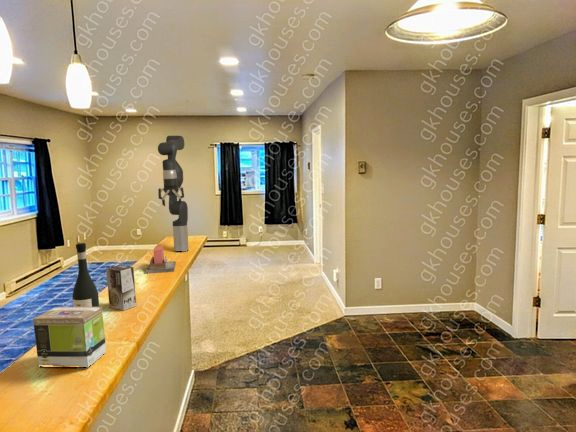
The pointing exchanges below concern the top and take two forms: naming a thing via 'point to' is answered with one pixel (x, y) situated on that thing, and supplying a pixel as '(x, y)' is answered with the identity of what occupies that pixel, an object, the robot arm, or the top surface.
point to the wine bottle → (84, 282)
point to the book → (158, 254)
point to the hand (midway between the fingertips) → (172, 205)
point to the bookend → (167, 263)
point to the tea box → (70, 336)
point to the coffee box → (121, 287)
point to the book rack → (159, 267)
